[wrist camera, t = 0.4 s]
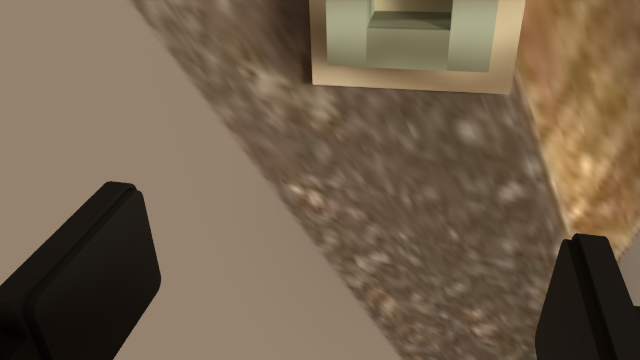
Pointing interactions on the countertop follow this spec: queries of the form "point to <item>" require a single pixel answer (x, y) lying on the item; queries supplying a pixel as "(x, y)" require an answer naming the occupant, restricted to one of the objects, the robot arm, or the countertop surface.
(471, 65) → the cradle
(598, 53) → the countertop surface
